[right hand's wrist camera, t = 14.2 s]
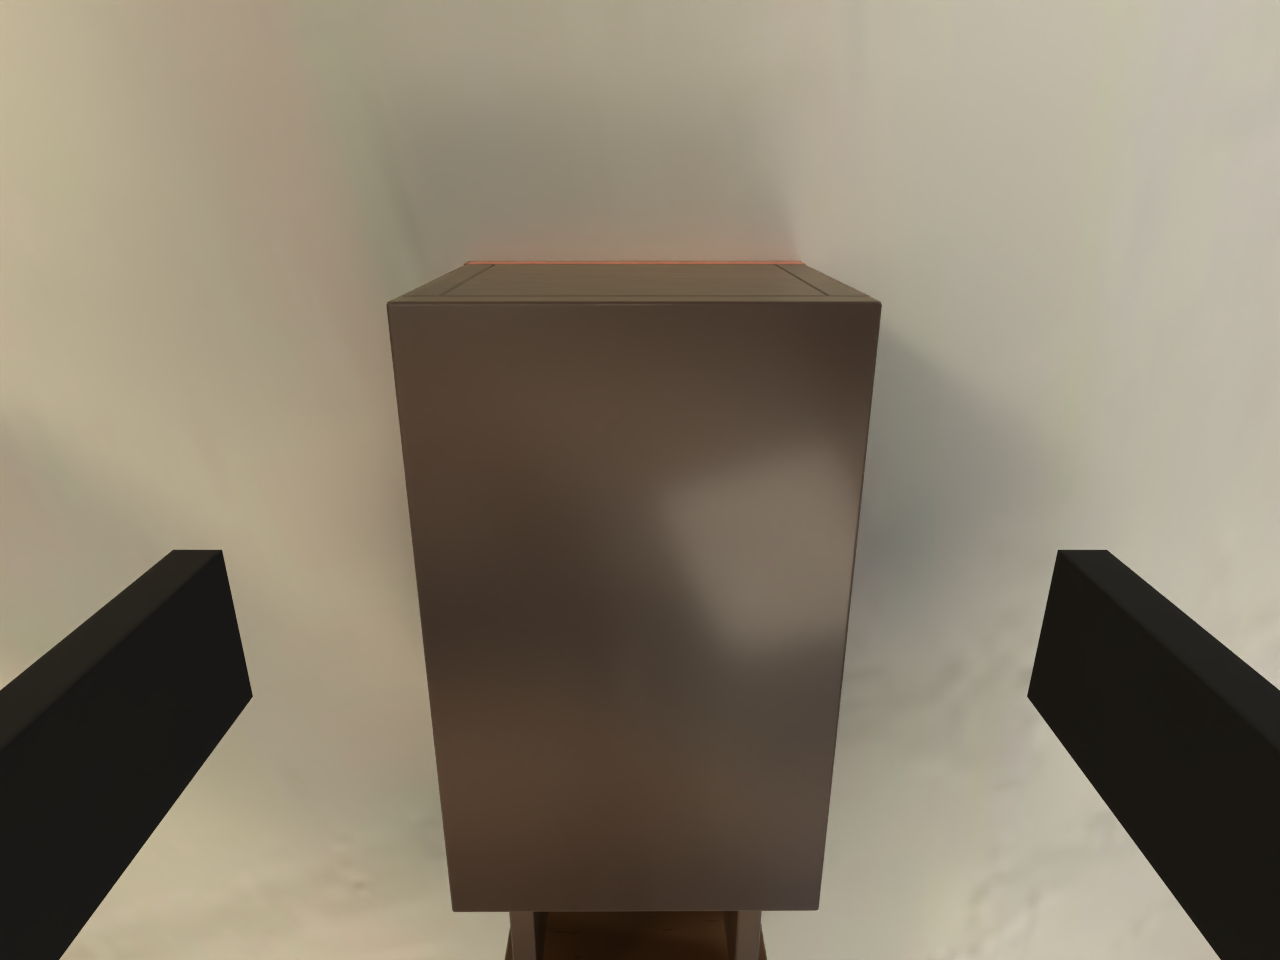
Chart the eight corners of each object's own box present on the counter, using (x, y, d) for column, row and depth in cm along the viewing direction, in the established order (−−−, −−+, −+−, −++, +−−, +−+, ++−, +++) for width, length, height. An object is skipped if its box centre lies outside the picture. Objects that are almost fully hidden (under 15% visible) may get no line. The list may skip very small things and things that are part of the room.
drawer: (743, 971, 38) (768, 1161, 30) (528, 972, 37) (503, 1162, 30) (770, 524, 30) (815, 637, 22) (498, 524, 29) (454, 637, 22)
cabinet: (769, 713, 34) (819, 912, 24) (501, 714, 34) (451, 913, 24) (800, 261, 27) (883, 301, 18) (469, 261, 27) (384, 301, 18)
